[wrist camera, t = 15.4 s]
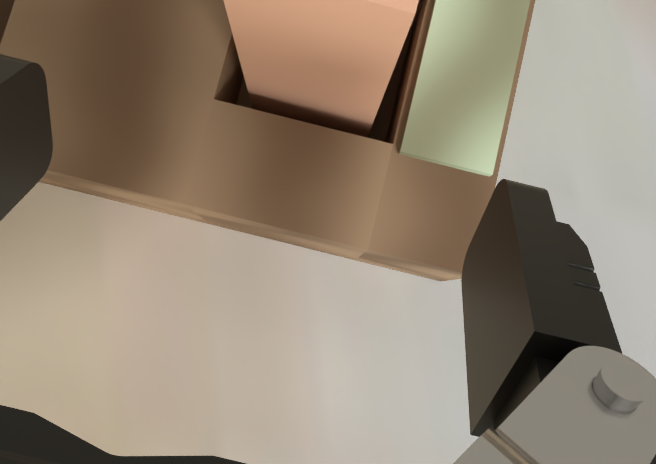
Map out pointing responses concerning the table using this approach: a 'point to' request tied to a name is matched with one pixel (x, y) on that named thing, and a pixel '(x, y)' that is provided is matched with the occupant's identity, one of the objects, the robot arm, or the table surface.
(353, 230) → the slot holder
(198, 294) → the table surface
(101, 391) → the table surface
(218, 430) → the table surface
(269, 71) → the peg
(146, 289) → the table surface
